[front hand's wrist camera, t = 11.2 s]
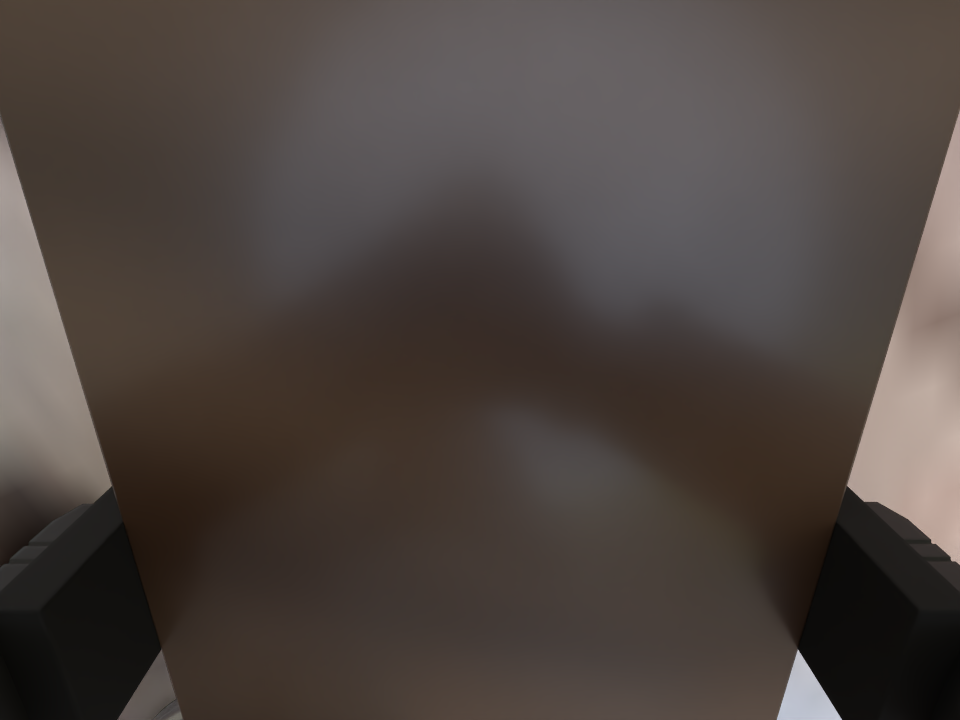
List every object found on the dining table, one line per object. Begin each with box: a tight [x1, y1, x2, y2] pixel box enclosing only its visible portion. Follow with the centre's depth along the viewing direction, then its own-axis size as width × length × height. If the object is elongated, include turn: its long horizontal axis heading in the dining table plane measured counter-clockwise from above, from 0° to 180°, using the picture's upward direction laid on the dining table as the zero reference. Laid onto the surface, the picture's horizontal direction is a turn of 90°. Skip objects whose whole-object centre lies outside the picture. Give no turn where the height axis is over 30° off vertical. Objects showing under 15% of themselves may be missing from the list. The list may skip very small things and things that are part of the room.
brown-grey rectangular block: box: [0, 0, 960, 720], centre depth 12 cm, size 19×11×11 cm, turn 0°
